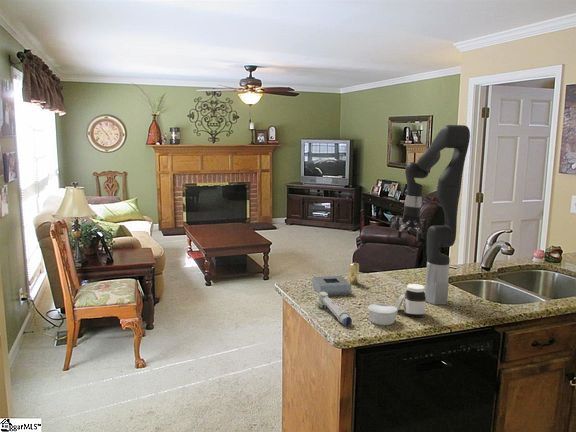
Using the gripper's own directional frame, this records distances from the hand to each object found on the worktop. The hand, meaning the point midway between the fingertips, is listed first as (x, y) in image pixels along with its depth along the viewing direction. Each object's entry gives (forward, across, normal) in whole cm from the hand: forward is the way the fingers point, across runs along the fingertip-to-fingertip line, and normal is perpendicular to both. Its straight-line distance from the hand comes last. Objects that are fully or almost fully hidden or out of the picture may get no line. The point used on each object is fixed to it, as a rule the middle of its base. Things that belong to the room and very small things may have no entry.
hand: (408, 240), depth 225 cm
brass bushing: (+24, -22, +6) cm, 33 cm away
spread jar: (+26, -6, -34) cm, 43 cm away
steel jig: (+26, -34, -5) cm, 43 cm away
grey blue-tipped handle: (+28, -37, -36) cm, 59 cm away
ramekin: (+27, -19, -42) cm, 53 cm away
